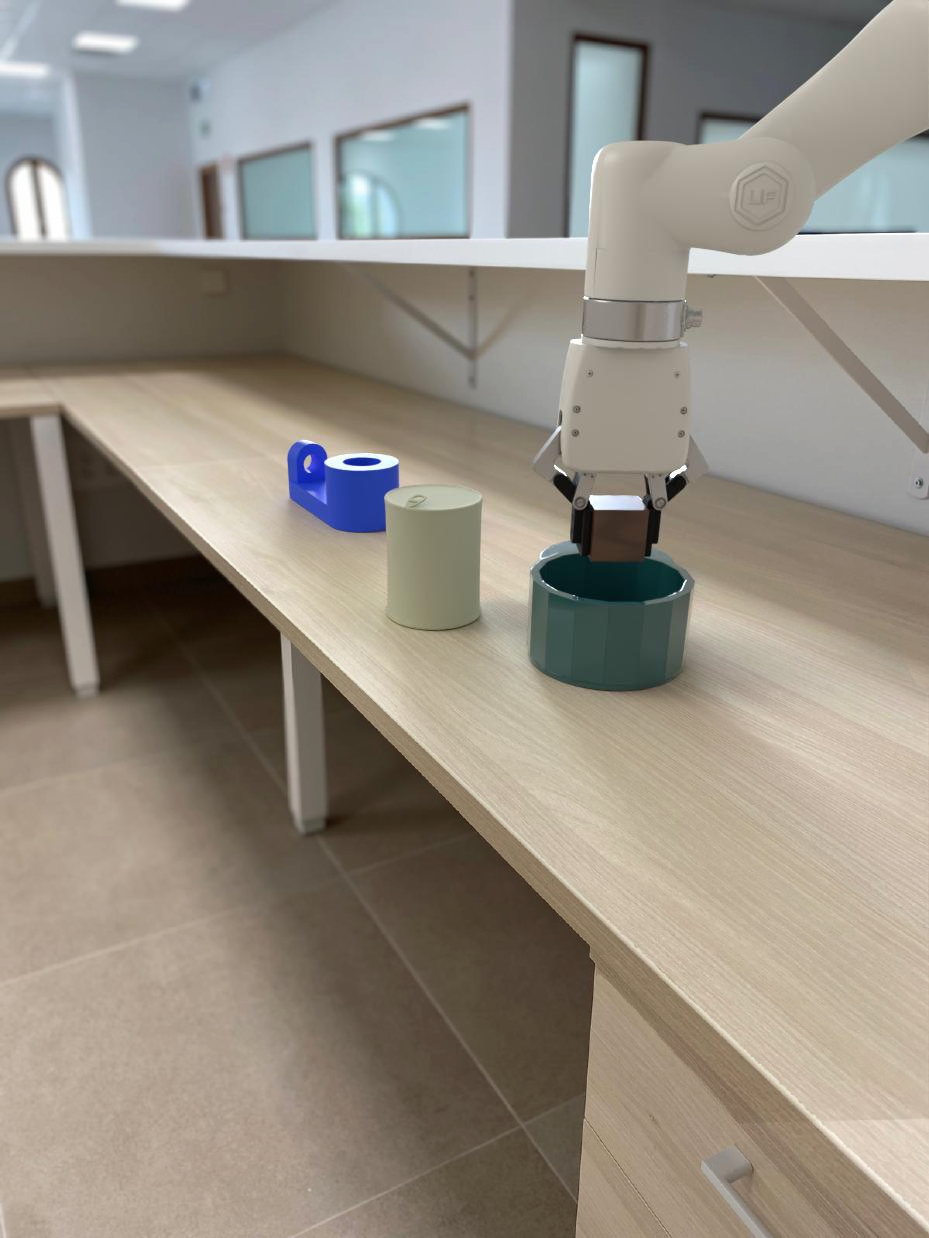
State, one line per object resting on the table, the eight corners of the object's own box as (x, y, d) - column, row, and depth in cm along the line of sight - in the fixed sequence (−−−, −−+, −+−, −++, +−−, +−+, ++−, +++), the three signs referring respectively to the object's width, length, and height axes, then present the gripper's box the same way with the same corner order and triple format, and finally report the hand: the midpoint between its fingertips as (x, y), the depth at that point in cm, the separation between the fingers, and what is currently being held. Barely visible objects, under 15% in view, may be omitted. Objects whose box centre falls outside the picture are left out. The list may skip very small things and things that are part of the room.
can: (366, 616, 89) (363, 494, 84) (421, 587, 96) (420, 474, 91) (448, 638, 84) (448, 510, 80) (498, 606, 92) (501, 487, 87)
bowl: (663, 624, 88) (671, 549, 85) (702, 690, 76) (713, 605, 73) (520, 624, 87) (523, 549, 85) (536, 691, 75) (540, 605, 72)
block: (633, 545, 80) (637, 495, 78) (644, 562, 76) (649, 510, 74) (582, 544, 80) (586, 495, 78) (590, 562, 76) (594, 509, 74)
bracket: (413, 523, 116) (413, 463, 113) (351, 536, 111) (349, 474, 108) (333, 490, 131) (331, 436, 128) (275, 500, 125) (271, 444, 122)
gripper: (726, 321, 74) (700, 538, 82) (516, 317, 74) (508, 537, 81) (757, 331, 67) (725, 567, 75) (526, 327, 67) (516, 566, 74)
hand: (612, 549), depth 78 cm, fingers closed on block, 4 cm apart
